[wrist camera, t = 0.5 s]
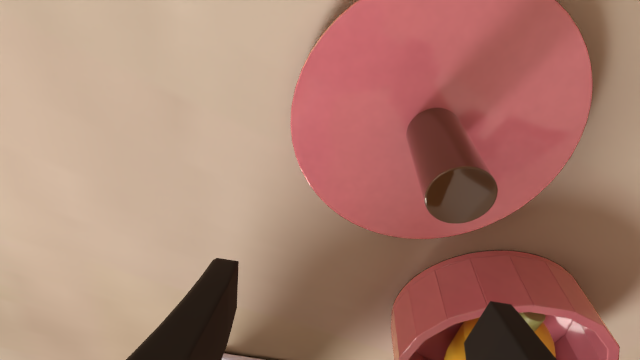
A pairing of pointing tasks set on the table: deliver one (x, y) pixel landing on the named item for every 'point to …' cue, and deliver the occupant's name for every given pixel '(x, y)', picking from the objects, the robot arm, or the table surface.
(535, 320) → the yellow rounded oblong piece
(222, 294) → the robot arm
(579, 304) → the pot
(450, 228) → the lid
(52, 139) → the table surface
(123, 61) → the table surface
